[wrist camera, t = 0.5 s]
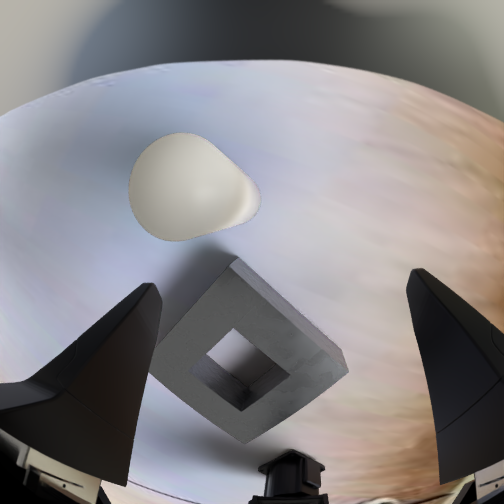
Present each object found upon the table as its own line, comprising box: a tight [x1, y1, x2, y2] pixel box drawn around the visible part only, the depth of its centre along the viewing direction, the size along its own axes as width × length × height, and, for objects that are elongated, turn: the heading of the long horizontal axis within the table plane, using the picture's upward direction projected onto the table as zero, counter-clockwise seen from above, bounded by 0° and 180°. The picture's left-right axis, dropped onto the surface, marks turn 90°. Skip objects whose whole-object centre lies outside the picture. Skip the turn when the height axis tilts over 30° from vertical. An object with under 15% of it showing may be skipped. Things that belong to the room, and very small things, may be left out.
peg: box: [129, 133, 261, 241], centre depth 17 cm, size 4×4×13 cm
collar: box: [149, 257, 349, 444], centre depth 23 cm, size 13×13×4 cm
